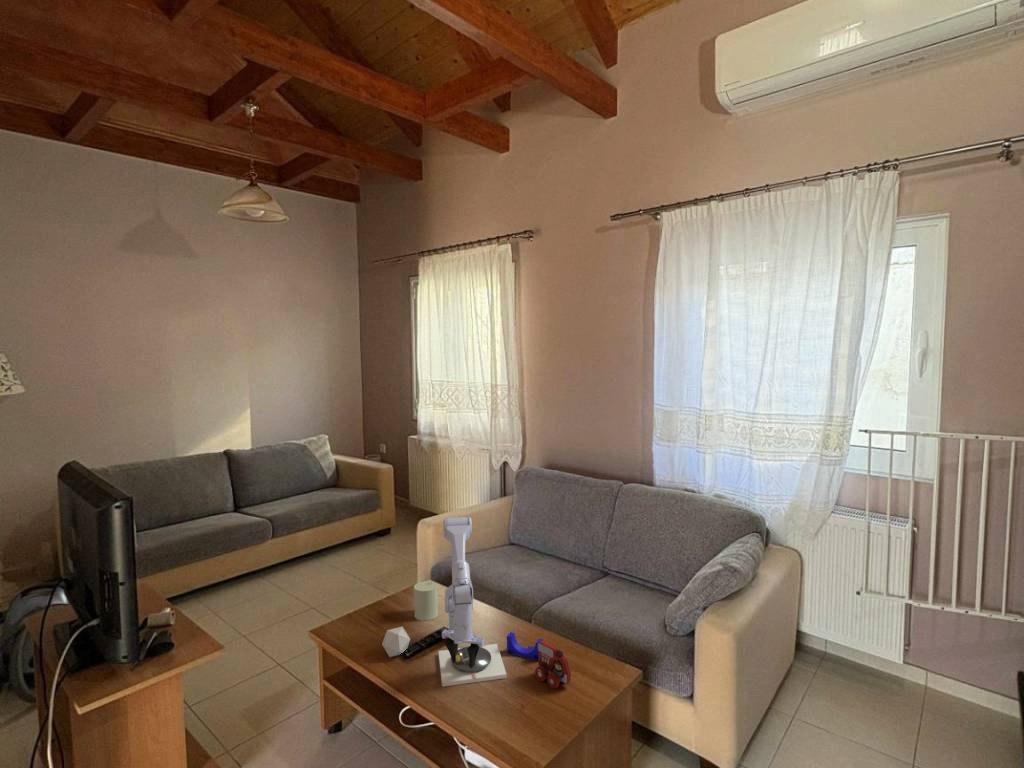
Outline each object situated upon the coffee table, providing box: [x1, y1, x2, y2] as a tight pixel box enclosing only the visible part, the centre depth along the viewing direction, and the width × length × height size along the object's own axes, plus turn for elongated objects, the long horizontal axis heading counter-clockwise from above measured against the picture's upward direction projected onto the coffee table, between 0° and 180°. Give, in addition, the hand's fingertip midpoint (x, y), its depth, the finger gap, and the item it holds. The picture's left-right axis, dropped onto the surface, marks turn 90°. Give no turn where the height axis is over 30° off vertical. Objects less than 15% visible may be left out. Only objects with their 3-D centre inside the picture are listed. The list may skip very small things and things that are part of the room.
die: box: [381, 626, 411, 658], centre depth 180 cm, size 8×9×10 cm
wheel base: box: [438, 643, 508, 688], centre depth 172 cm, size 18×20×2 cm
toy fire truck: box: [534, 640, 572, 690], centre depth 164 cm, size 7×12×10 cm, turn 44°
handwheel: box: [451, 646, 491, 672], centre depth 172 cm, size 13×13×4 cm
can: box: [413, 580, 439, 621], centre depth 207 cm, size 9×9×12 cm
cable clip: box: [506, 631, 544, 661], centre depth 179 cm, size 12×4×6 cm, turn 66°
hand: (463, 663), depth 168 cm, fingers open, 6 cm apart
